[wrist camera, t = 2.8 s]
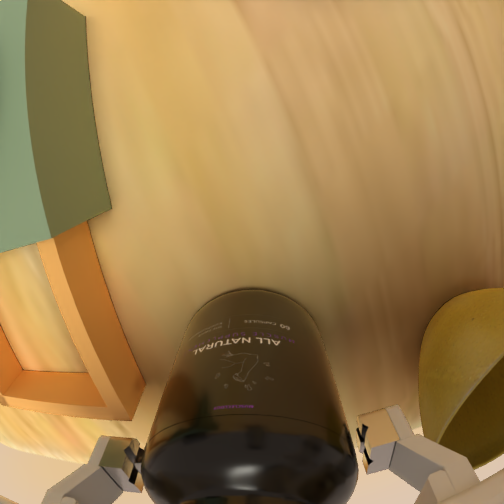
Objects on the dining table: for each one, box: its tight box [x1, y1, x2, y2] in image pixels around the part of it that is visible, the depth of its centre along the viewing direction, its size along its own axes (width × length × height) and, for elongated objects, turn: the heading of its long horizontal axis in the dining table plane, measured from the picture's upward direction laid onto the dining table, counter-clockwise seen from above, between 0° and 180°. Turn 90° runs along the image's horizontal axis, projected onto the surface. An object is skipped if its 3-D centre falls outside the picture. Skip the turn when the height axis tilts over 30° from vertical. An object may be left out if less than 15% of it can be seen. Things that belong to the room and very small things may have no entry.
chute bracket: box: [0, 221, 146, 421], centre depth 14 cm, size 11×10×3 cm
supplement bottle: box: [141, 290, 358, 504], centre depth 10 cm, size 7×7×12 cm
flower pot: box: [418, 288, 504, 470], centre depth 12 cm, size 10×10×7 cm
